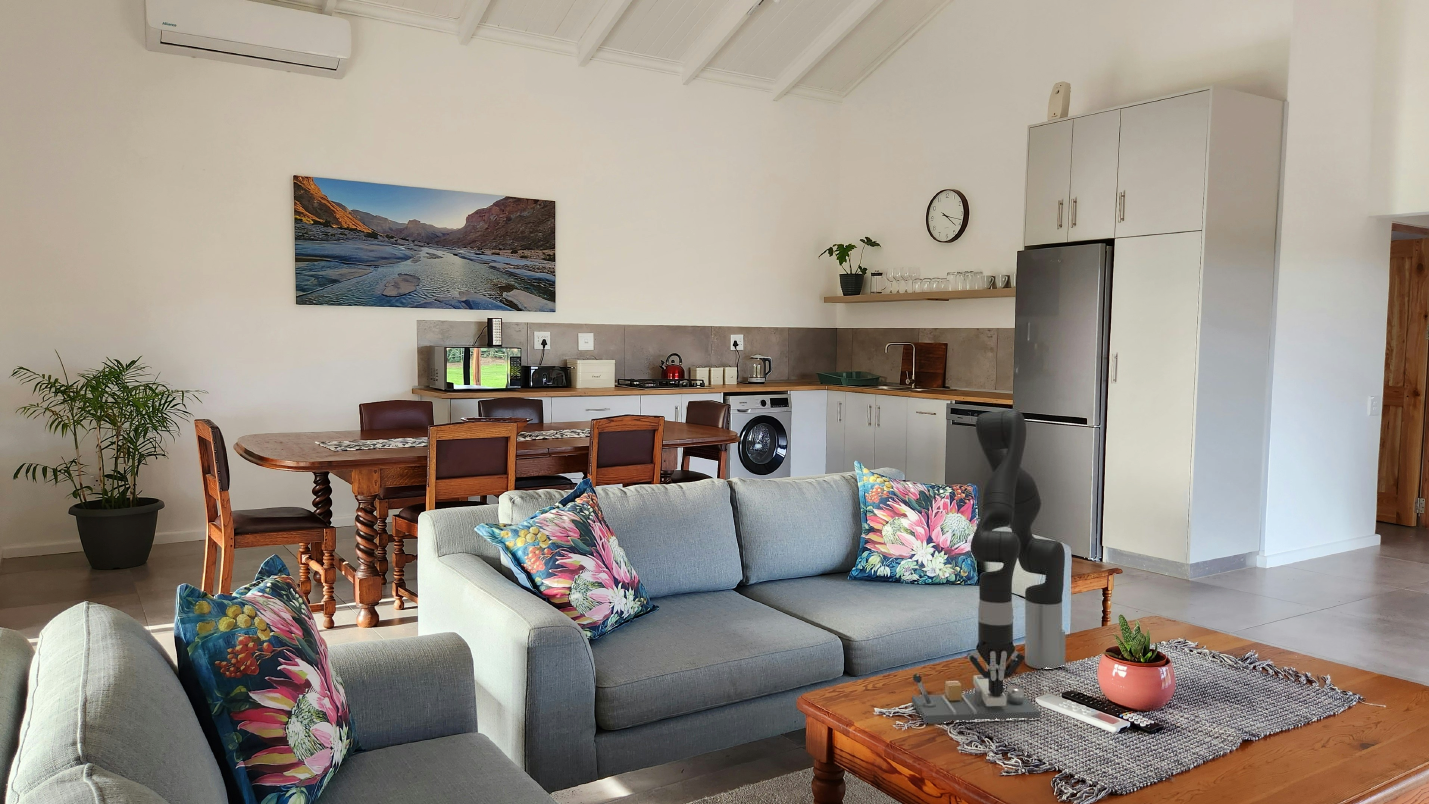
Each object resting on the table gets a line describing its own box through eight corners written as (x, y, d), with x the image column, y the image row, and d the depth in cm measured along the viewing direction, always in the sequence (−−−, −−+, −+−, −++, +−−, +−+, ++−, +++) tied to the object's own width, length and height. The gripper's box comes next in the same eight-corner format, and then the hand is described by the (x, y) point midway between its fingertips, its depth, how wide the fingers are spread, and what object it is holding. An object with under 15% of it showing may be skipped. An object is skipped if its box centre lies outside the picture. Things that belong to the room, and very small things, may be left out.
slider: (957, 695, 221) (957, 678, 221) (961, 699, 218) (961, 683, 218) (945, 695, 221) (945, 679, 220) (948, 700, 218) (948, 683, 217)
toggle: (931, 699, 217) (918, 670, 217) (934, 702, 215) (920, 673, 215) (924, 702, 217) (910, 674, 217) (926, 706, 215) (912, 677, 215)
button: (1020, 697, 219) (1020, 684, 218) (1025, 703, 215) (1025, 690, 215) (1004, 697, 218) (1004, 685, 218) (1010, 703, 215) (1010, 691, 215)
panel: (1020, 700, 223) (1020, 678, 223) (1040, 720, 211) (1040, 697, 211) (912, 703, 222) (911, 682, 222) (925, 724, 210) (925, 701, 210)
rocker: (991, 682, 222) (992, 673, 221) (1006, 705, 212) (1006, 696, 211) (973, 683, 221) (973, 674, 221) (986, 706, 212) (987, 696, 211)
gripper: (1018, 614, 215) (1018, 688, 216) (961, 615, 215) (961, 690, 215) (1030, 623, 208) (1030, 700, 208) (971, 624, 207) (971, 701, 208)
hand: (995, 695), depth 212 cm, fingers closed
